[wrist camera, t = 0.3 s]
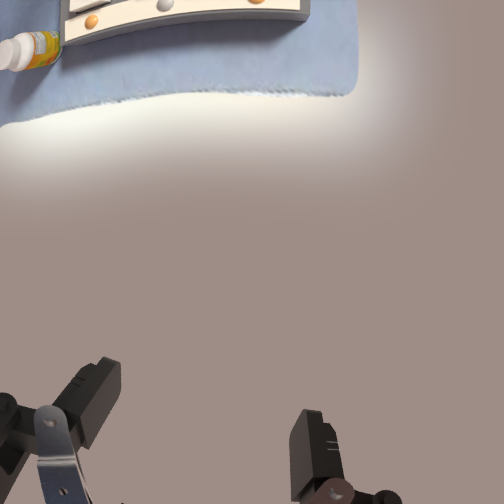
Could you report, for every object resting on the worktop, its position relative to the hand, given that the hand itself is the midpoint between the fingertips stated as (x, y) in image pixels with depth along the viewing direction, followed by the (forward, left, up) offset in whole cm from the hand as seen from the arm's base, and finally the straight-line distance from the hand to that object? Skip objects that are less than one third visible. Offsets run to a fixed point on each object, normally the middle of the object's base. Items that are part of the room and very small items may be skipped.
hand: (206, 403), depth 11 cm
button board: (-25, +7, -30) cm, 39 cm away
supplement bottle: (-33, -12, -30) cm, 46 cm away
